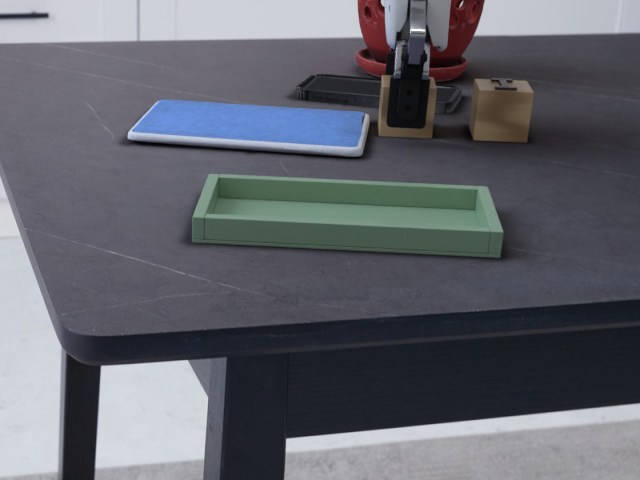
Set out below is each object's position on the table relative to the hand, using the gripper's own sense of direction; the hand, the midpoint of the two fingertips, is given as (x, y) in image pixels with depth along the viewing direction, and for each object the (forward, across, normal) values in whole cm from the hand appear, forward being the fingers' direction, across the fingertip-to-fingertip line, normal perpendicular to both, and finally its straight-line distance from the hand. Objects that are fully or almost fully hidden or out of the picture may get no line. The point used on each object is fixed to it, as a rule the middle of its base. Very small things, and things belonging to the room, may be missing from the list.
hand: (403, 112), depth 100 cm
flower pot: (+2, +24, -2) cm, 24 cm away
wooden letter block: (+2, 0, -8) cm, 8 cm away
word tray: (+2, -26, +5) cm, 27 cm away
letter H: (+2, 0, 0) cm, 2 cm away
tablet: (+2, -3, +13) cm, 13 cm away
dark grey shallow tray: (+2, +12, +2) cm, 12 cm away
